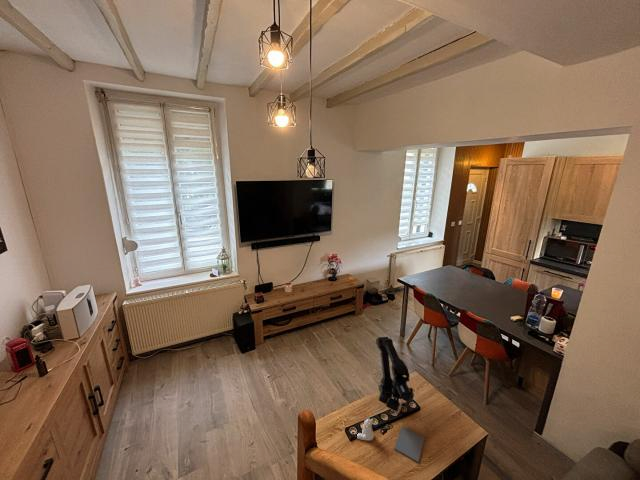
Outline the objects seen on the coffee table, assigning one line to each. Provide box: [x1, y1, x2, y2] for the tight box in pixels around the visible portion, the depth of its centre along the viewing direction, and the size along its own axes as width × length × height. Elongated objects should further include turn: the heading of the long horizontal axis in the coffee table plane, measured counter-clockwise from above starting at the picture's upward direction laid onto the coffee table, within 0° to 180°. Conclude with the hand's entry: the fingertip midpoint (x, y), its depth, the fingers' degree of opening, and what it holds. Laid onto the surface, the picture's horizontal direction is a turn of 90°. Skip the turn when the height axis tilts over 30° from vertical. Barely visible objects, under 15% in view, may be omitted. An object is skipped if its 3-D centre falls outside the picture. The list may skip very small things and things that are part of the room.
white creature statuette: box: [356, 418, 375, 442], centre depth 141 cm, size 10×9×12 cm
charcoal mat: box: [393, 425, 425, 464], centre depth 138 cm, size 12×14×1 cm
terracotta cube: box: [389, 397, 403, 414], centre depth 148 cm, size 5×5×5 cm
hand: (395, 406), depth 148 cm, fingers closed on terracotta cube, 5 cm apart
